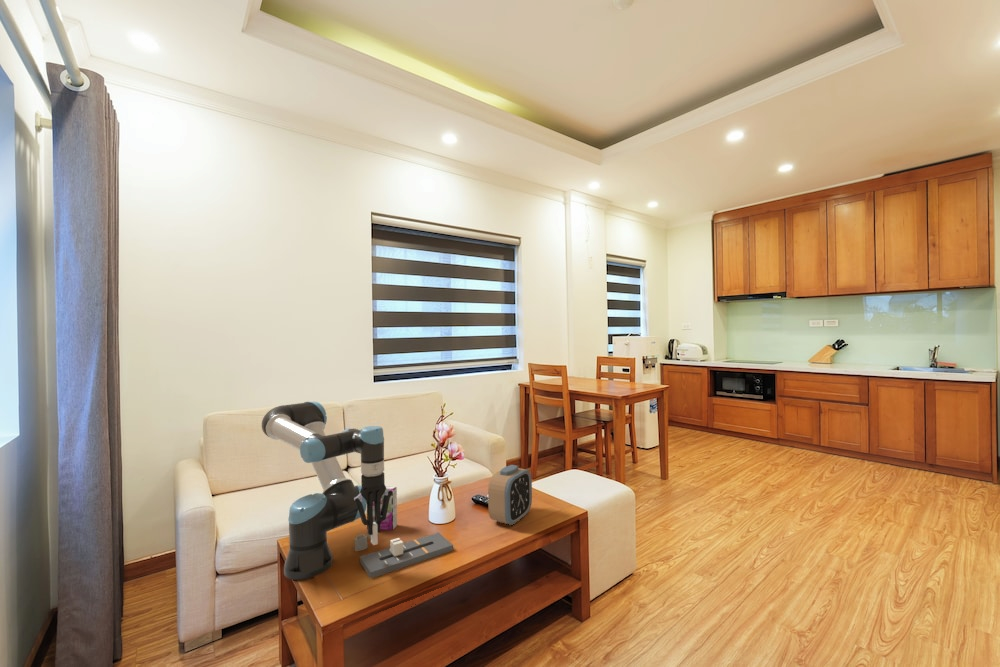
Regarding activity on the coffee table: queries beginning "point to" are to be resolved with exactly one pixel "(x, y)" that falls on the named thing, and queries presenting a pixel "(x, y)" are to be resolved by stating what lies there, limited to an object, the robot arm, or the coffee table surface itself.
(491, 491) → the alarm clock
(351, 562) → the coffee table surface
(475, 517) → the coffee table surface
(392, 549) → the fader knob
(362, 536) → the lighter
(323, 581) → the coffee table surface
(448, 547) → the console
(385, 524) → the candy bar box
